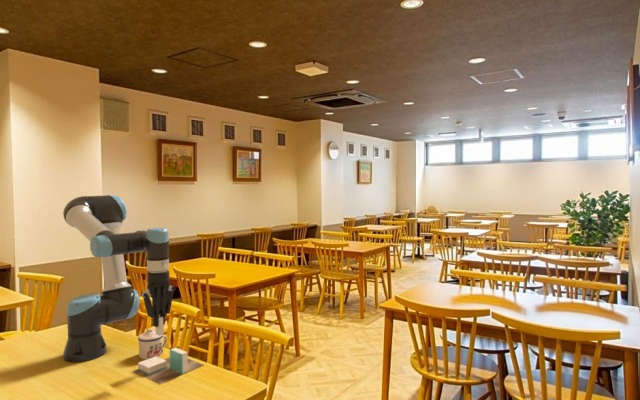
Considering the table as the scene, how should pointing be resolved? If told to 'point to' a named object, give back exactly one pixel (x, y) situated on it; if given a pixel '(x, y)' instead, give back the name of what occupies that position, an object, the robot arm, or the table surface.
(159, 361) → the tile
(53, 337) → the table surface
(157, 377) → the walnut board
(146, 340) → the teacup with lid
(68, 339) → the robot arm
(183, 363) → the tile
